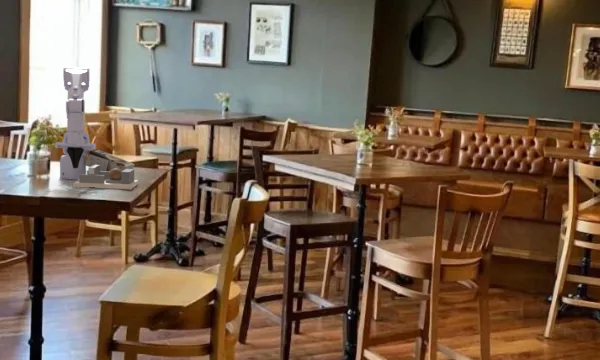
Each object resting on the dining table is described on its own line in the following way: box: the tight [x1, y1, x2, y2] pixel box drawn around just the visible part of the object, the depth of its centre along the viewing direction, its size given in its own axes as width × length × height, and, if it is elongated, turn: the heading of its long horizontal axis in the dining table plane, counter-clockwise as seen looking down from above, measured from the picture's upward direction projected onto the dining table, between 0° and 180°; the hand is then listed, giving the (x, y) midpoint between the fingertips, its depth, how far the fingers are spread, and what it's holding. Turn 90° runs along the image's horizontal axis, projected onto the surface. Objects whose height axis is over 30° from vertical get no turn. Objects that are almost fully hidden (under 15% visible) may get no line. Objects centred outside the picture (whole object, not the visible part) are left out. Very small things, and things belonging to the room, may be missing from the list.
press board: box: [72, 168, 139, 190], centre depth 282 cm, size 21×12×6 cm, turn 89°
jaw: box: [88, 165, 100, 175], centre depth 282 cm, size 2×8×4 cm, turn 179°
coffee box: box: [85, 148, 135, 172], centre depth 297 cm, size 9×6×16 cm
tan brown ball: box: [109, 168, 122, 180], centre depth 282 cm, size 5×5×5 cm
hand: (75, 167), depth 282 cm, fingers closed
